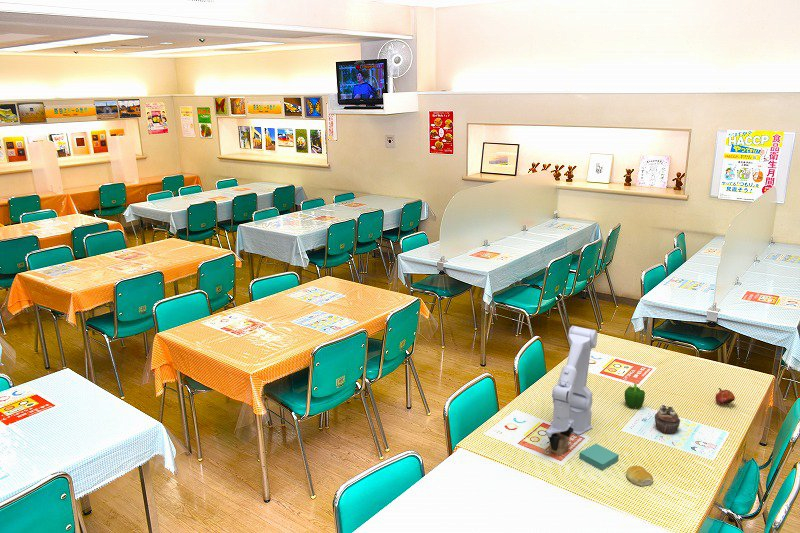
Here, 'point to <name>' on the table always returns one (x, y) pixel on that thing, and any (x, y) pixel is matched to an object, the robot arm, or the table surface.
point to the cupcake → (667, 420)
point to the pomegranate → (724, 397)
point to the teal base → (598, 456)
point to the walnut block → (561, 445)
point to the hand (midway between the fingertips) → (558, 447)
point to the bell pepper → (634, 397)
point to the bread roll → (639, 476)
